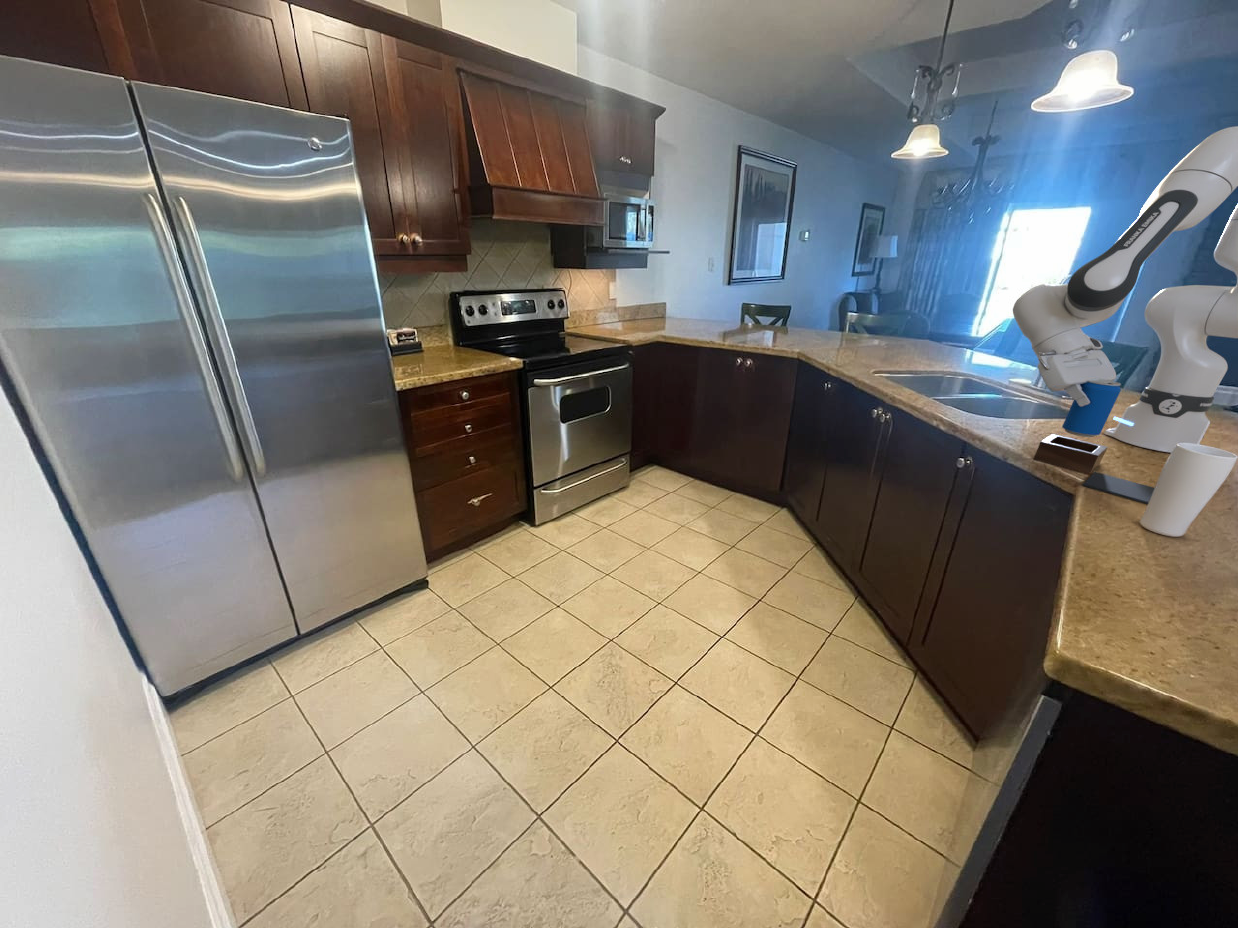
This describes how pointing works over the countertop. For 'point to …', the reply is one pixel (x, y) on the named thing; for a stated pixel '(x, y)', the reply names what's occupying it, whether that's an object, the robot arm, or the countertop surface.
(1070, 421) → the beverage can
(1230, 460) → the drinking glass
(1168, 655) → the countertop surface
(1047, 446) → the box
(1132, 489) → the coaster
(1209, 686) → the countertop surface
